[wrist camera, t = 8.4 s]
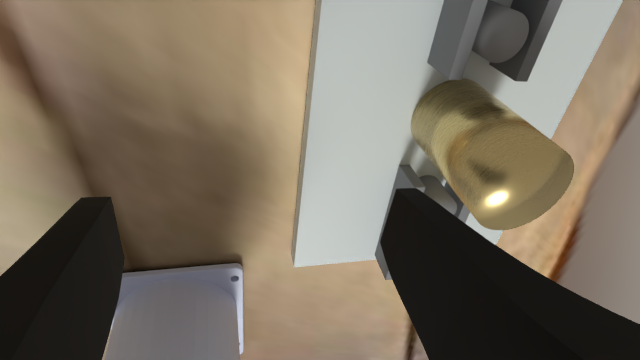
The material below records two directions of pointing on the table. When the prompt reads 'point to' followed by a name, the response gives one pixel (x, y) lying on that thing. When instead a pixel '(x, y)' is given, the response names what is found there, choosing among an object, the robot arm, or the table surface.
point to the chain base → (406, 92)
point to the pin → (490, 154)
